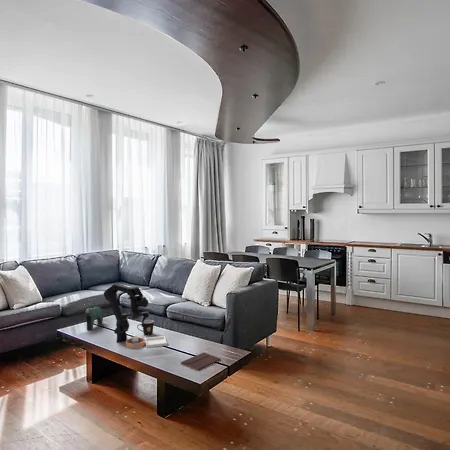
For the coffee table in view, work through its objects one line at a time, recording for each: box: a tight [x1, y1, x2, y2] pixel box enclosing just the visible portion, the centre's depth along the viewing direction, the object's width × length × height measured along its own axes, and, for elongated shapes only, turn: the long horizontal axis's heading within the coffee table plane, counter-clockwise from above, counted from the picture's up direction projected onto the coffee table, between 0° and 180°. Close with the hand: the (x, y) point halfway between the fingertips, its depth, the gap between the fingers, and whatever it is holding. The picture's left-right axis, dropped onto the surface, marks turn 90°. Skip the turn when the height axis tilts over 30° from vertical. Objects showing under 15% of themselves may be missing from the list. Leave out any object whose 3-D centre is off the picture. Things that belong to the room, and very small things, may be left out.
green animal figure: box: [84, 302, 104, 331], centre depth 295 cm, size 20×6×20 cm, turn 167°
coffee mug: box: [136, 319, 155, 336], centre depth 275 cm, size 12×9×10 cm
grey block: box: [132, 338, 139, 344], centre depth 251 cm, size 4×5×4 cm
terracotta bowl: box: [125, 336, 146, 349], centre depth 253 cm, size 13×13×4 cm
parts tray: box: [144, 335, 168, 348], centre depth 257 cm, size 14×15×2 cm
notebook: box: [180, 351, 221, 372], centre depth 225 cm, size 15×20×2 cm
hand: (135, 327), depth 255 cm, fingers open, 9 cm apart
